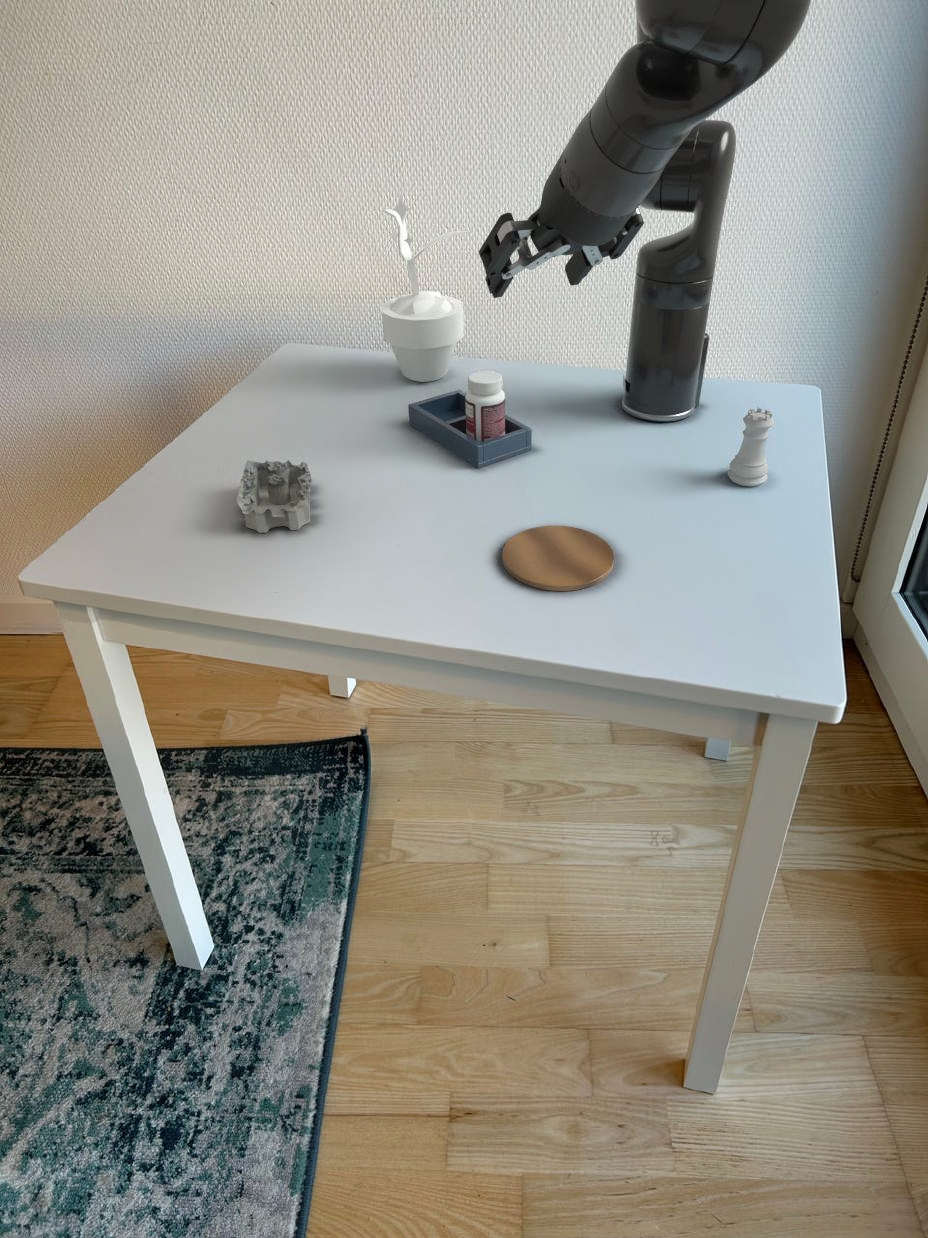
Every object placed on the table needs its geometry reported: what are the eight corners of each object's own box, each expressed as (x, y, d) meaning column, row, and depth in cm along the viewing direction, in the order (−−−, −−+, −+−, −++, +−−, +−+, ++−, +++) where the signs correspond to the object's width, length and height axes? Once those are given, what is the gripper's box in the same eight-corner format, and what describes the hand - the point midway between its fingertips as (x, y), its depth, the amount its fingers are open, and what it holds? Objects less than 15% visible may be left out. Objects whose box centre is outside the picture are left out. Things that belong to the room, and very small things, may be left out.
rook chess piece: (770, 473, 99) (784, 407, 94) (763, 491, 96) (778, 423, 91) (730, 466, 100) (743, 401, 96) (722, 483, 97) (735, 416, 92)
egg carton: (311, 531, 91) (306, 497, 88) (239, 536, 90) (231, 501, 88) (316, 482, 99) (311, 450, 96) (250, 486, 98) (244, 454, 96)
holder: (460, 409, 115) (459, 389, 113) (531, 450, 105) (532, 428, 103) (409, 424, 111) (408, 404, 109) (478, 468, 101) (478, 446, 99)
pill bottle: (509, 437, 106) (510, 371, 101) (498, 453, 103) (498, 386, 98) (473, 432, 108) (472, 366, 102) (460, 448, 104) (459, 381, 99)
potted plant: (376, 388, 121) (360, 193, 106) (395, 358, 130) (383, 174, 115) (465, 393, 119) (461, 195, 104) (477, 362, 128) (476, 176, 113)
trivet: (564, 519, 92) (564, 514, 91) (637, 565, 84) (637, 560, 84) (480, 552, 87) (480, 547, 86) (550, 605, 79) (550, 599, 79)
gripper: (663, 123, 72) (582, 239, 87) (512, 137, 67) (454, 257, 82) (693, 204, 71) (606, 307, 86) (542, 224, 66) (478, 329, 82)
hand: (532, 282), depth 84 cm, fingers open, 8 cm apart
